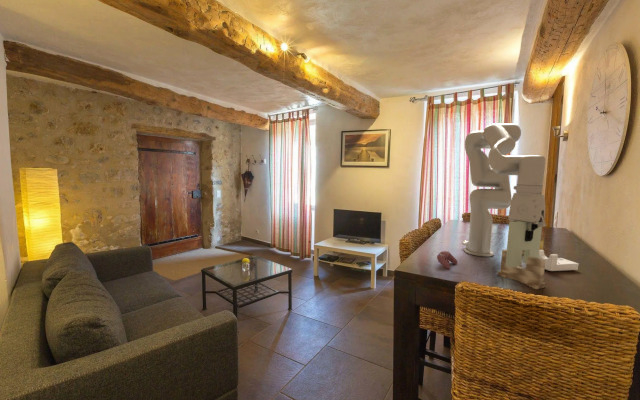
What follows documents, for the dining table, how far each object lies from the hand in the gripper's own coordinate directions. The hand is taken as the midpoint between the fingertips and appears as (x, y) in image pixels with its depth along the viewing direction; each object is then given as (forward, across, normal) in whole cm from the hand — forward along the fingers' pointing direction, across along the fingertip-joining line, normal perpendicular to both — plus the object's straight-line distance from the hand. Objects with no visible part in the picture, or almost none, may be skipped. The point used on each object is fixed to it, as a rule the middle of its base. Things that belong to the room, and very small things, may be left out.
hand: (524, 239), depth 105 cm
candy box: (+16, -19, +39) cm, 46 cm away
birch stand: (+16, 0, 0) cm, 16 cm away
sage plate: (+9, 0, 0) cm, 9 cm away
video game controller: (+16, -23, -12) cm, 31 cm away
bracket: (+16, -3, +28) cm, 32 cm away
